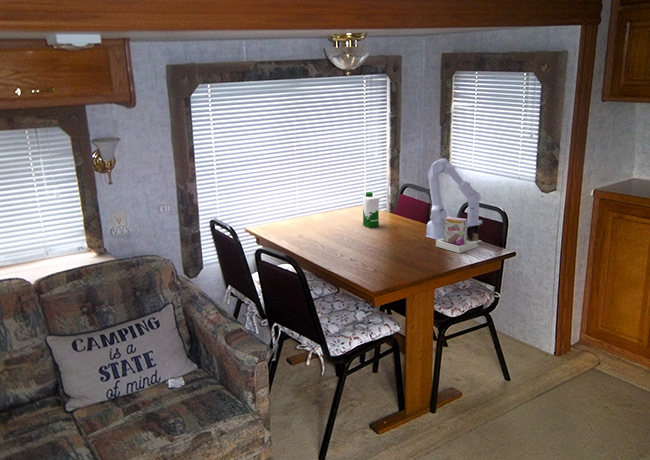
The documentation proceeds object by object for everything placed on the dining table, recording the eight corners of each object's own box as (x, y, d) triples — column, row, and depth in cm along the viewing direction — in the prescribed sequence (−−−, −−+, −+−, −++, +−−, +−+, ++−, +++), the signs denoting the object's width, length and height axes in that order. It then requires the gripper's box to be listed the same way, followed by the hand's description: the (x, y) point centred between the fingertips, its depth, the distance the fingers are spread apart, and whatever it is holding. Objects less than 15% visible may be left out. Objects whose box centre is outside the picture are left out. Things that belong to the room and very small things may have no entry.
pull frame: (435, 246, 320) (436, 237, 319) (464, 237, 335) (465, 228, 334) (459, 253, 309) (459, 244, 308) (487, 243, 324) (488, 234, 323)
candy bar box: (442, 248, 318) (444, 218, 313) (445, 245, 322) (447, 216, 317) (463, 251, 312) (464, 221, 308) (466, 248, 317) (467, 218, 312)
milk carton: (373, 223, 366) (373, 191, 361) (381, 226, 359) (381, 194, 353) (360, 225, 362) (360, 192, 357) (368, 228, 355) (369, 195, 349)
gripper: (470, 218, 316) (469, 243, 319) (487, 213, 324) (485, 237, 328) (460, 216, 321) (458, 240, 325) (476, 211, 330) (475, 235, 333)
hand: (471, 238), depth 327 cm, fingers closed on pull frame, 2 cm apart
